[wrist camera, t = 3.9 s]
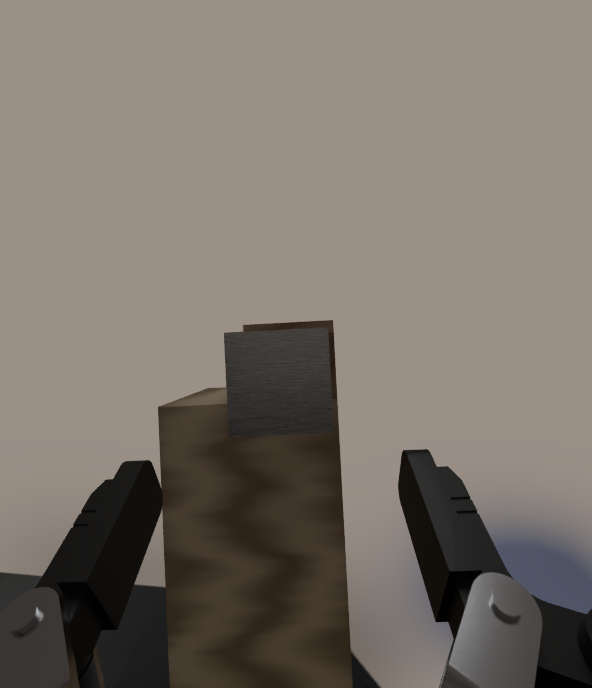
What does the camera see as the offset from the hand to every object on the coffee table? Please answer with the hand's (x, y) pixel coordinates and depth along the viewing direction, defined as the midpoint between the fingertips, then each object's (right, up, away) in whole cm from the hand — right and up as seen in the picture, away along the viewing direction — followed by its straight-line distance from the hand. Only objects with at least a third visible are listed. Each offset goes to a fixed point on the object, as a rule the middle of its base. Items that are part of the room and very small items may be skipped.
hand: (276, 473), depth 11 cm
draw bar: (0, 0, +13) cm, 13 cm away
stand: (-1, -32, +17) cm, 36 cm away
